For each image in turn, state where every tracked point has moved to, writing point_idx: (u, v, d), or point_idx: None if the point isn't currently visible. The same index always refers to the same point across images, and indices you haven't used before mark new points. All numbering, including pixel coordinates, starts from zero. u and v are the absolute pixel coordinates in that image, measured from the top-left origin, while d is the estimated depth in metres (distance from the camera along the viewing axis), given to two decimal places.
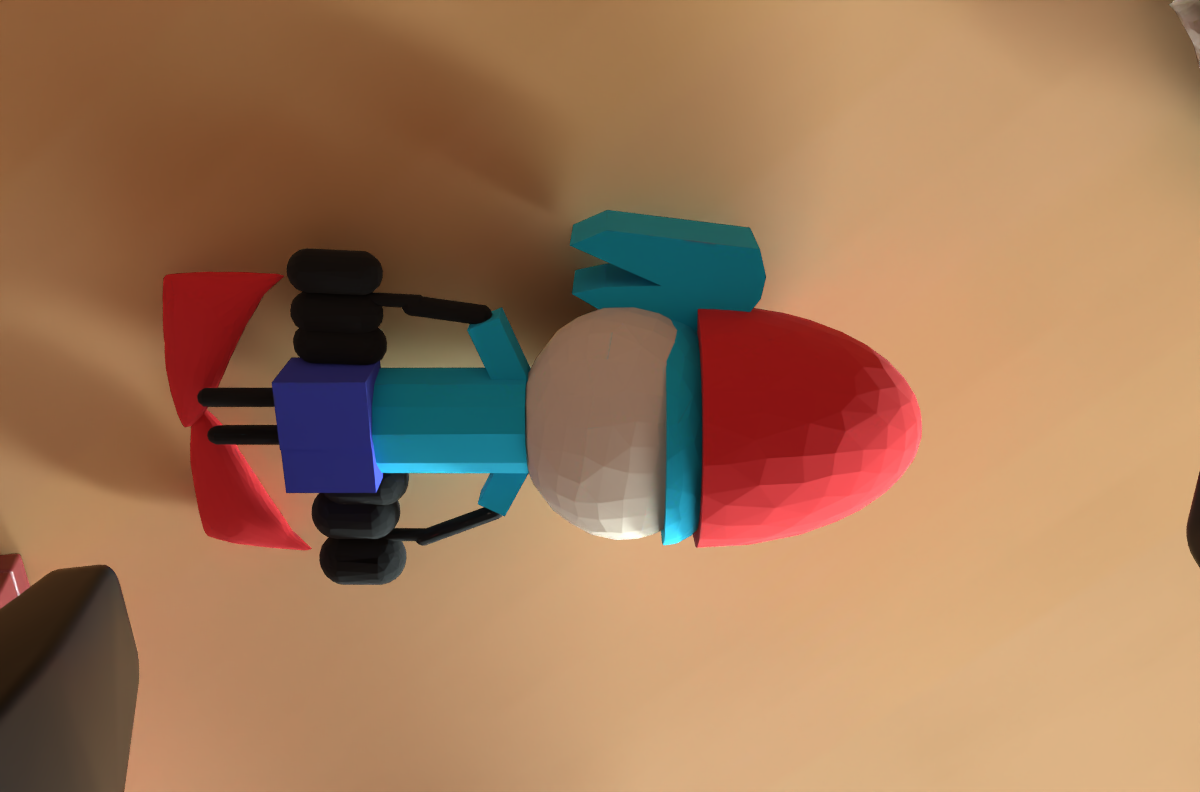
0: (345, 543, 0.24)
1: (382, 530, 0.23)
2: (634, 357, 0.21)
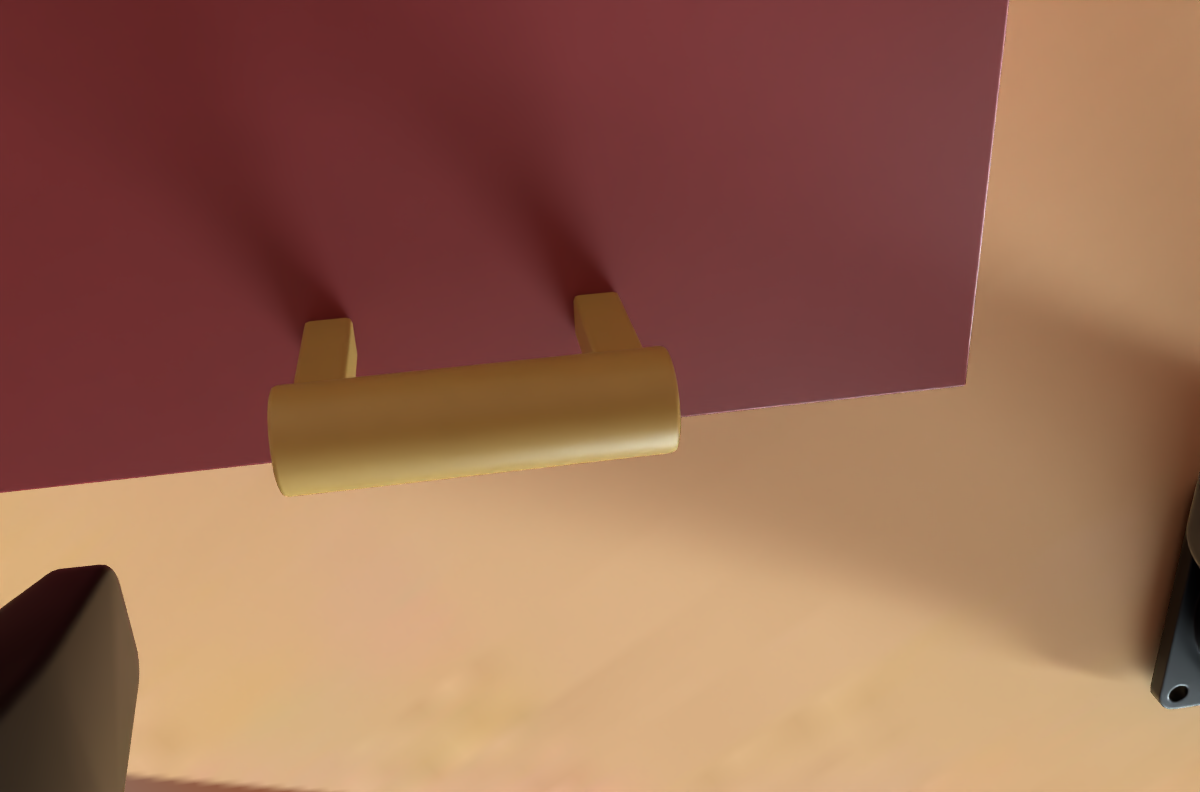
0: None
1: None
2: None
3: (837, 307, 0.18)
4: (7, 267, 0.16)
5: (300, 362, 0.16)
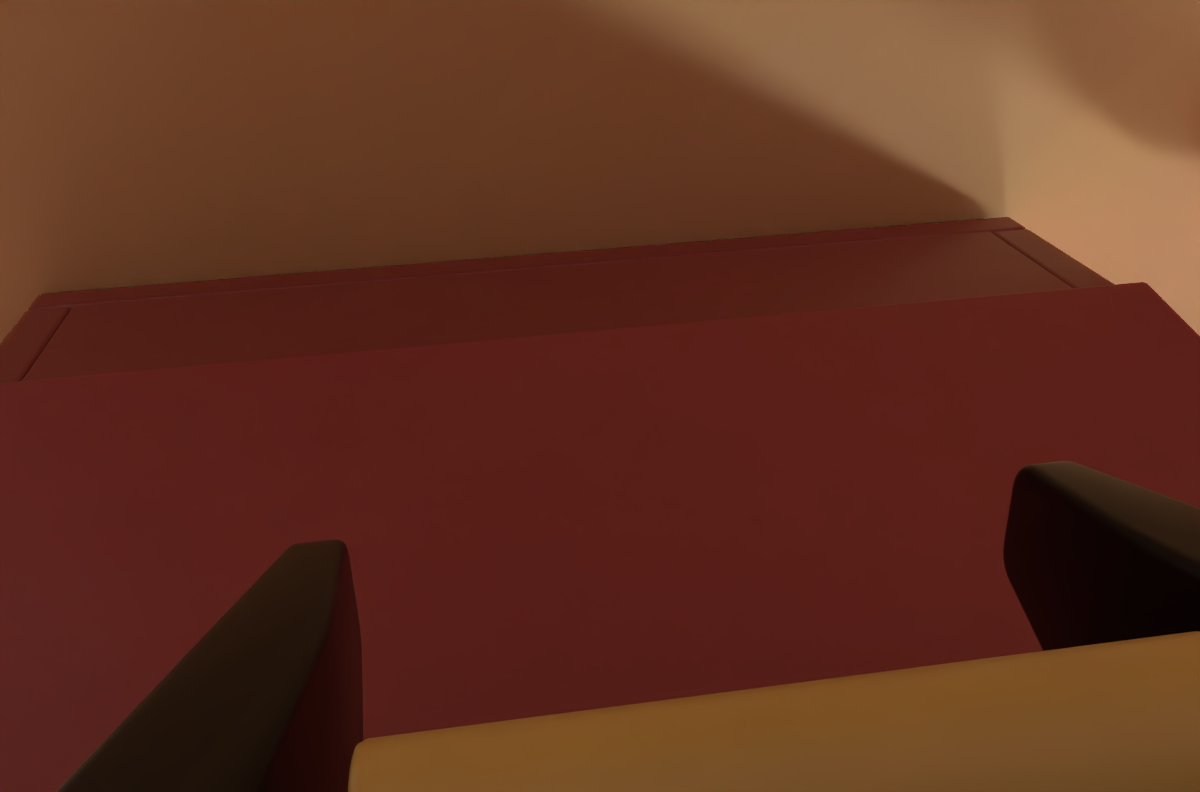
0: None
1: None
2: None
3: None
4: None
5: None
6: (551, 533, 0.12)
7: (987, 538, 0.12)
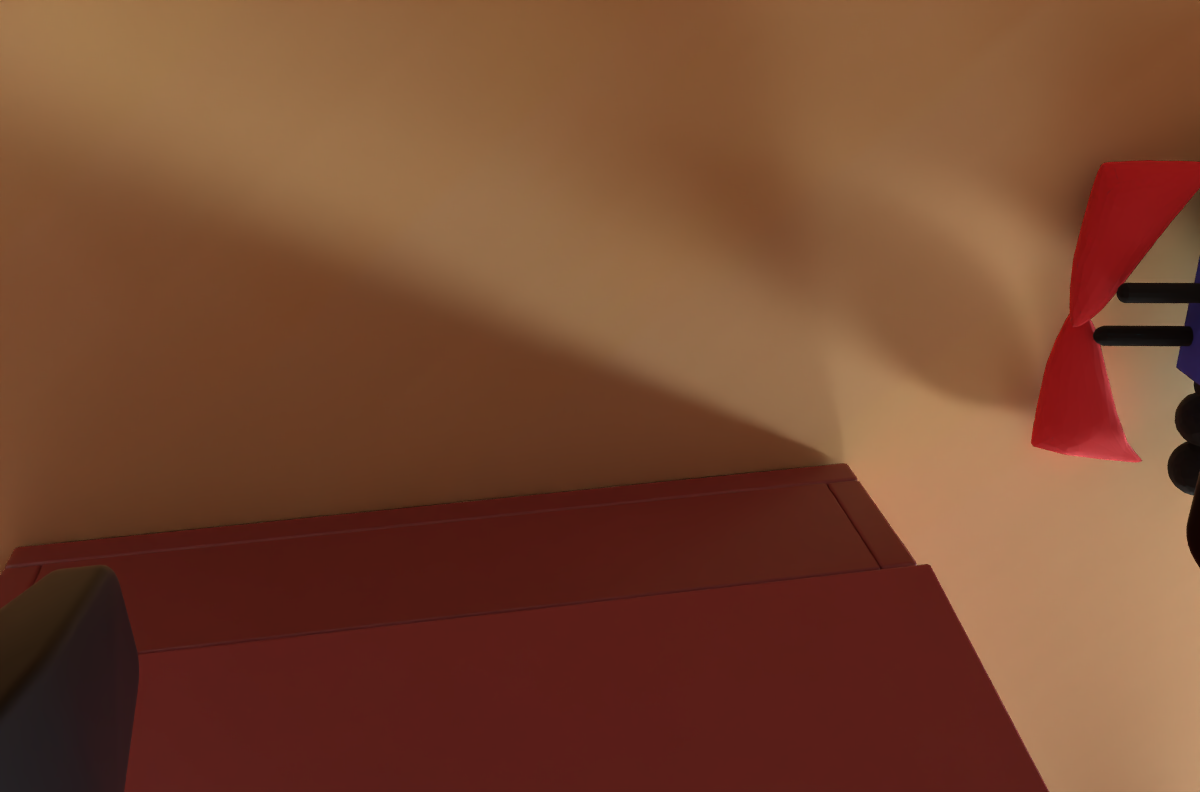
0: None
1: None
2: None
3: None
4: None
5: None
6: None
7: None
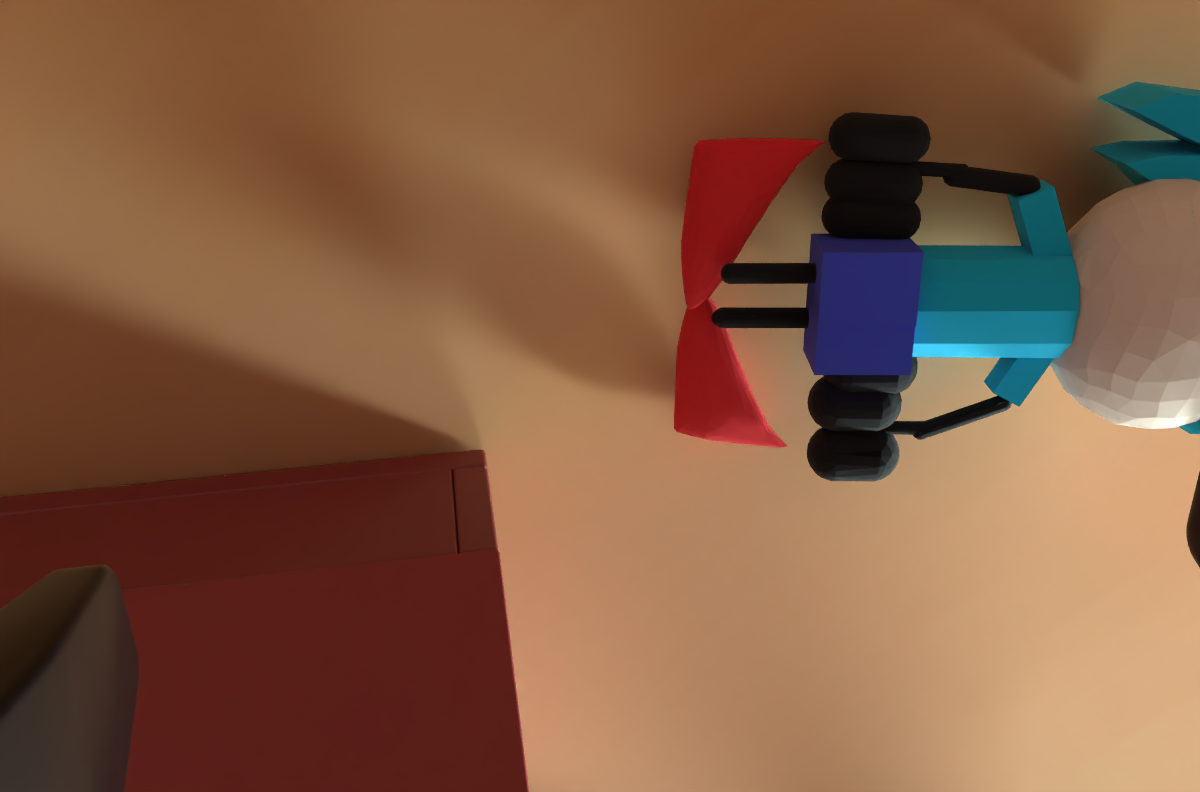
0: (844, 435, 0.23)
1: (890, 420, 0.22)
2: None
3: None
4: None
5: None
6: None
7: None
